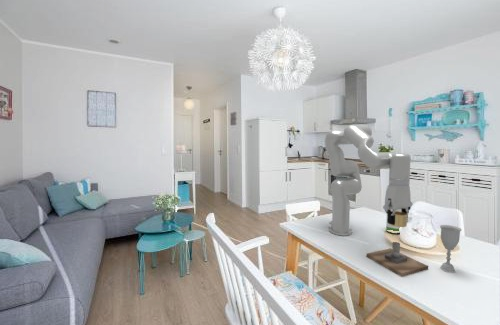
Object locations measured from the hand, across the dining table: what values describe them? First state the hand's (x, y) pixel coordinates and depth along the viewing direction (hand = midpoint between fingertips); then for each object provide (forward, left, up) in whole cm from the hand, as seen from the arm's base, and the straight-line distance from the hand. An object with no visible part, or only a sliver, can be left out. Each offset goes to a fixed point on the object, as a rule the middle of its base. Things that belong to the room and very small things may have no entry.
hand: (397, 222), depth 107 cm
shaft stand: (0, 0, -18) cm, 18 cm away
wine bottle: (-26, +30, -19) cm, 44 cm away
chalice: (+12, +15, -19) cm, 27 cm away
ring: (0, 0, -1) cm, 1 cm away
